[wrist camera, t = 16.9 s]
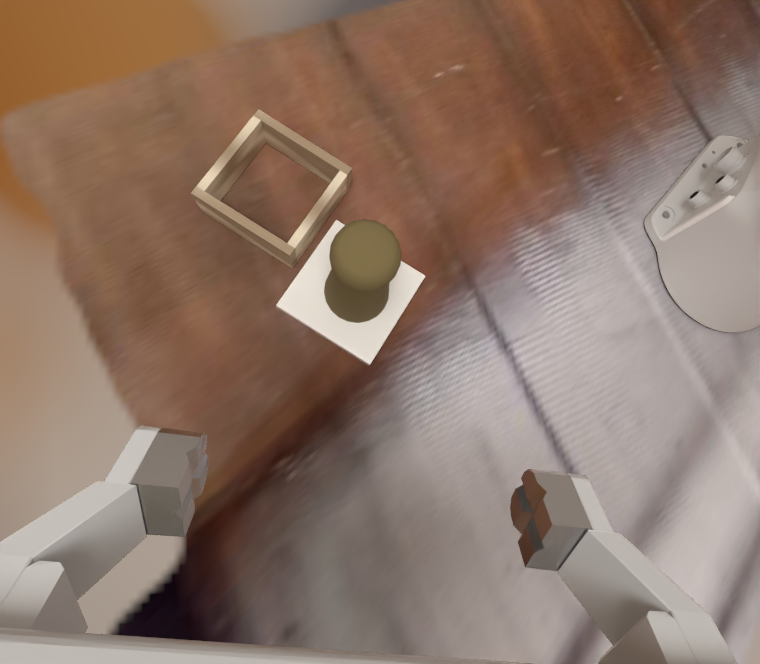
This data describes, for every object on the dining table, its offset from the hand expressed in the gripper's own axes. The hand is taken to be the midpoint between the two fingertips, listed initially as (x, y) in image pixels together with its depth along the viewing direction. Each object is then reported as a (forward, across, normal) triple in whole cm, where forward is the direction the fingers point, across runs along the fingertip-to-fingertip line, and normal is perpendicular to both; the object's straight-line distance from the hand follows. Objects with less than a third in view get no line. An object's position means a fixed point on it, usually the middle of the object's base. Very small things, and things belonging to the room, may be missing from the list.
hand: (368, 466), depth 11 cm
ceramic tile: (+30, 0, +12) cm, 32 cm away
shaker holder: (+36, +9, +6) cm, 37 cm away
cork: (+29, 0, +11) cm, 31 cm away
